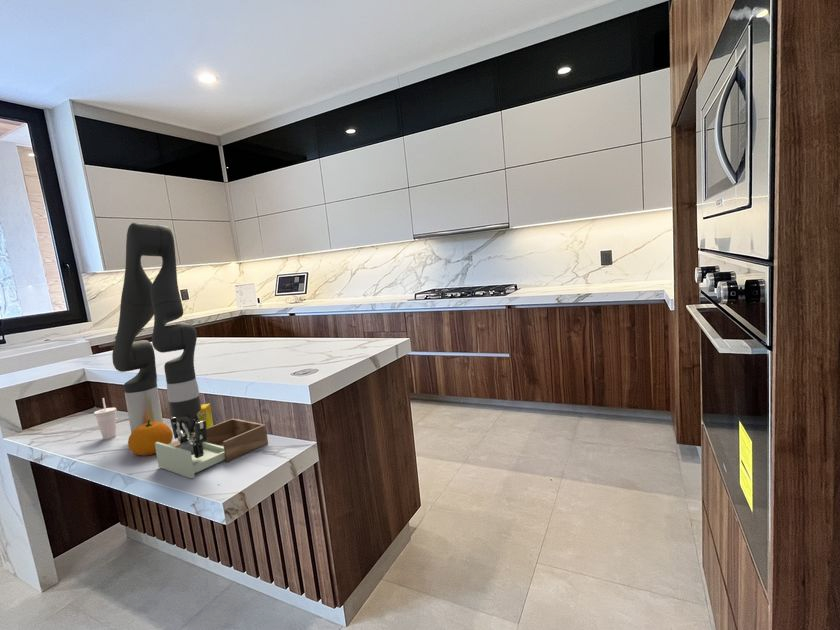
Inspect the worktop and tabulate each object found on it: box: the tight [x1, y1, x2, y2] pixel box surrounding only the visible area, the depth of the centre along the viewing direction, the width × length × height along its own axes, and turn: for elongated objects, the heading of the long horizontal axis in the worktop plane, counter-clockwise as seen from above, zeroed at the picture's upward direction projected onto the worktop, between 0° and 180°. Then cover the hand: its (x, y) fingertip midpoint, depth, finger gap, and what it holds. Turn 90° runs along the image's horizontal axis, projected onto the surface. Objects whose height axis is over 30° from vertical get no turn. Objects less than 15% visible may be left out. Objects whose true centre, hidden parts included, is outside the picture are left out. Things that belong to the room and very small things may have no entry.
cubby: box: [194, 418, 269, 463], centre depth 128 cm, size 17×14×6 cm
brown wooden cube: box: [167, 440, 180, 448], centre depth 125 cm, size 4×4×4 cm
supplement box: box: [188, 403, 214, 440], centre depth 137 cm, size 6×6×11 cm
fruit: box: [127, 420, 174, 456], centre depth 131 cm, size 12×12×10 cm
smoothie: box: [93, 397, 118, 440], centre depth 147 cm, size 6×6×14 cm
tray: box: [155, 442, 225, 479], centre depth 119 cm, size 17×13×7 cm
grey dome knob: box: [179, 439, 204, 455], centre depth 118 cm, size 6×6×2 cm
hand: (192, 454), depth 118 cm, fingers closed on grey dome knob, 6 cm apart
